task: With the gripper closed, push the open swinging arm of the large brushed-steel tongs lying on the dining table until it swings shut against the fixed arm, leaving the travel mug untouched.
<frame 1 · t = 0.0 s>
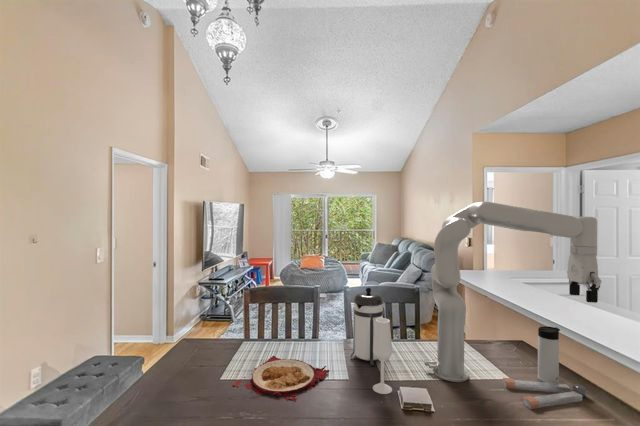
hand: (582, 298, 117), 31 cm above the table, tool pointing down, fingers open, 9 cm apart
travel mug: (548, 382, 119), on the table
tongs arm: (553, 399, 106), point 1 cm above the table, hinge at 22.0°
coffee press: (369, 357, 138), on the table
plate with food: (282, 381, 120), on the table
champagne flute: (382, 389, 114), on the table
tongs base: (579, 395, 110), on the table
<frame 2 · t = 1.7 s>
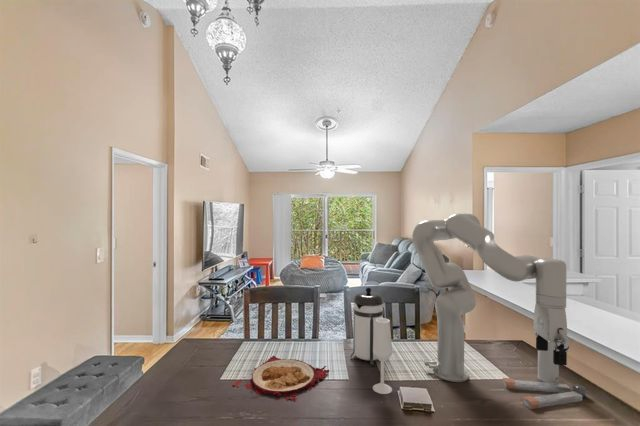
hand: (550, 357, 98), 19 cm above the table, tool pointing down, fingers open, 9 cm apart
nothing on the table moved.
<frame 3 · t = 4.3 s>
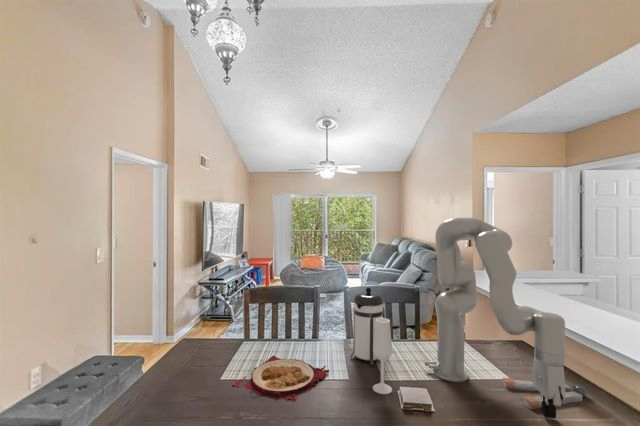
hand: (548, 416, 98), 1 cm above the table, tool pointing down, fingers closed
nothing on the table moved.
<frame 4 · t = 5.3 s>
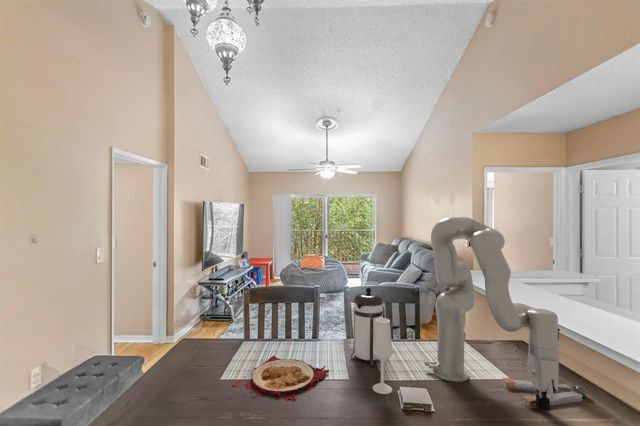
hand: (542, 408, 101), 1 cm above the table, tool pointing down, fingers closed
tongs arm: (552, 398, 106), point 1 cm above the table, hinge at 21.1°, touching gripper
everything else where it was.
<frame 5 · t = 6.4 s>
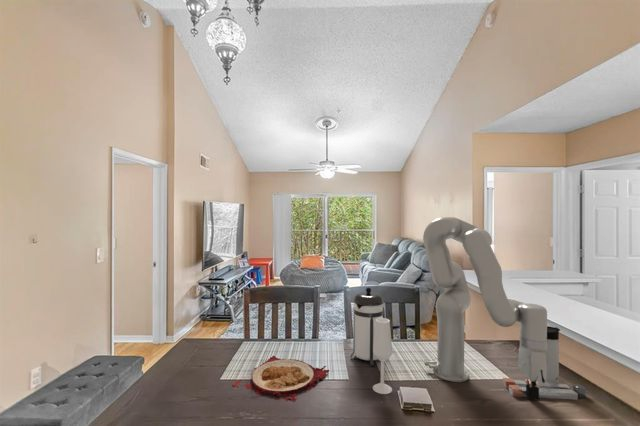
hand: (532, 397, 107), 1 cm above the table, tool pointing down, fingers closed
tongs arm: (542, 392, 110), point 1 cm above the table, hinge at 3.8°, touching gripper
everything else where it was.
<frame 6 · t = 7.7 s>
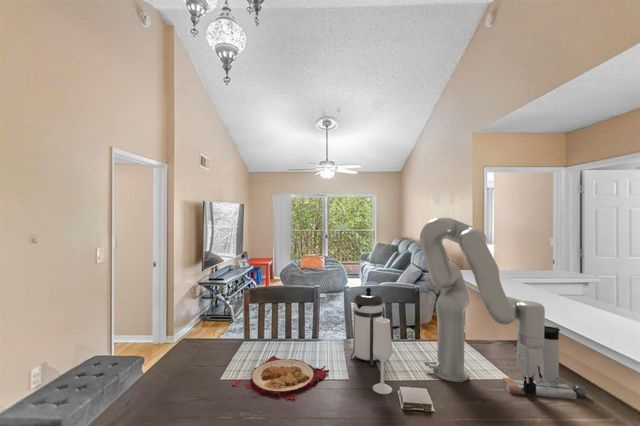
hand: (529, 393, 109), 1 cm above the table, tool pointing down, fingers closed
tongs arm: (540, 390, 111), point 1 cm above the table, hinge at -1.2°, touching gripper
everything else where it was.
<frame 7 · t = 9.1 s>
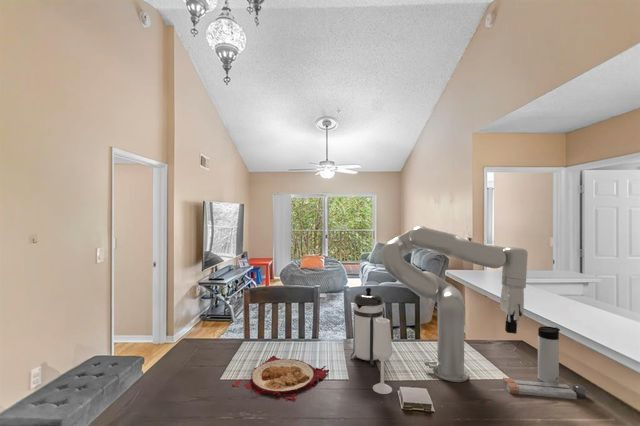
hand: (510, 332, 117), 19 cm above the table, tool pointing down, fingers closed
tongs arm: (540, 390, 111), point 1 cm above the table, hinge at -0.6°
everything else where it was.
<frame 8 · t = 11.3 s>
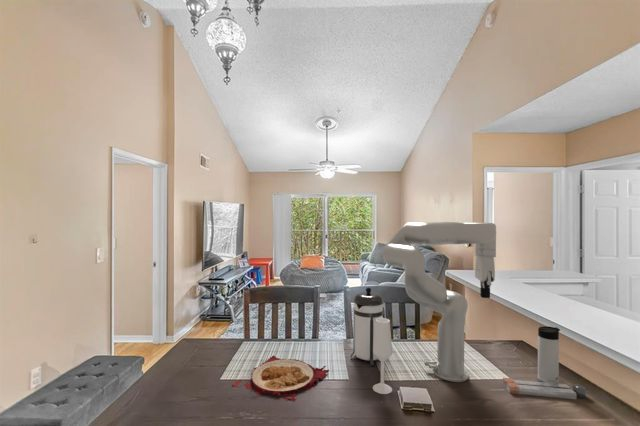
hand: (485, 297, 133), 27 cm above the table, tool pointing down, fingers closed
nothing on the table moved.
at the end: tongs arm at -1° (first picture: +22°); travel mug moved 0.2 cm from its start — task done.
